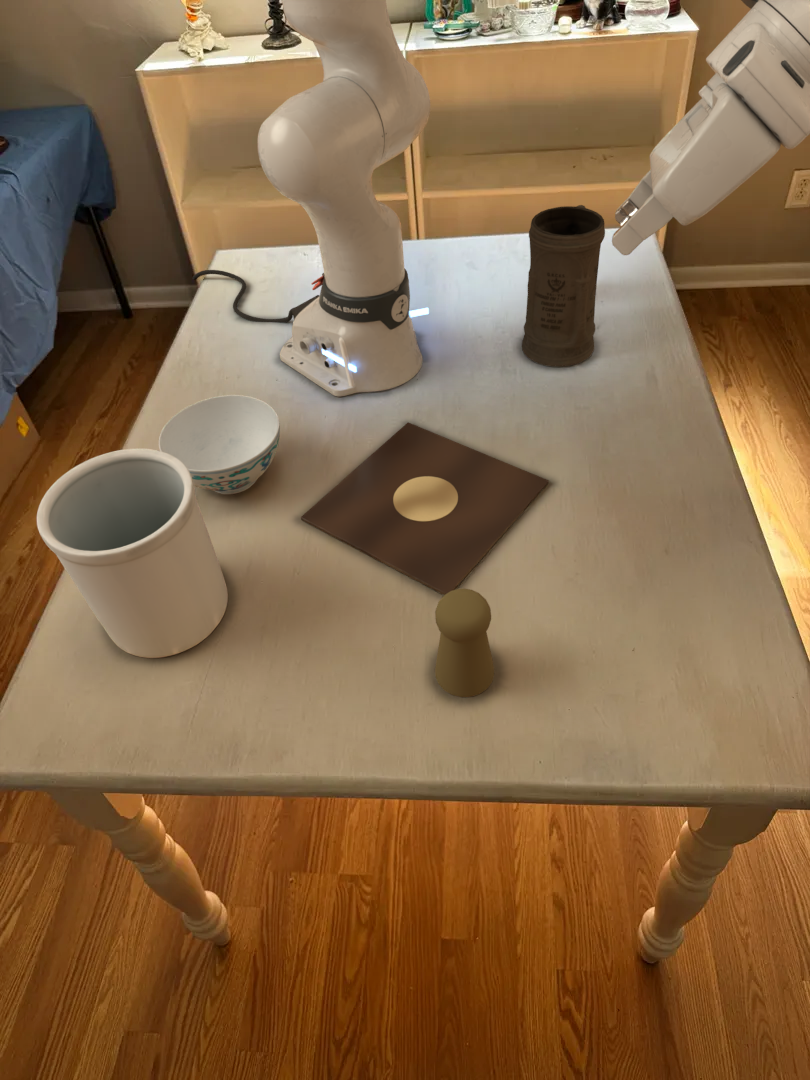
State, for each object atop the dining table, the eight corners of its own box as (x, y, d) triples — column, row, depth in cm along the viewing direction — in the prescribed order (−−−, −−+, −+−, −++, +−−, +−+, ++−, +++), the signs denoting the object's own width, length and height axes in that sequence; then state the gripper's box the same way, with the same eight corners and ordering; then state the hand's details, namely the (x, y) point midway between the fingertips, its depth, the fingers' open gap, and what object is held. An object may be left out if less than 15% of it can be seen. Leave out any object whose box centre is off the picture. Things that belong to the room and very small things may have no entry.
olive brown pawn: (453, 707, 77) (450, 640, 69) (424, 662, 81) (418, 594, 73) (506, 680, 78) (508, 612, 70) (474, 638, 82) (474, 569, 74)
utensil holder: (208, 672, 82) (157, 560, 69) (77, 657, 84) (6, 547, 71) (250, 566, 92) (213, 451, 79) (132, 556, 94) (78, 443, 81)
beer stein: (592, 372, 113) (609, 234, 99) (517, 368, 115) (524, 232, 101) (595, 322, 124) (611, 191, 110) (527, 319, 126) (534, 190, 112)
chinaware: (305, 445, 106) (295, 399, 101) (267, 523, 96) (254, 476, 91) (203, 436, 109) (188, 390, 104) (156, 510, 99) (137, 464, 94)
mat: (301, 520, 96) (300, 516, 96) (408, 424, 108) (407, 421, 107) (447, 597, 86) (447, 593, 86) (548, 483, 98) (549, 479, 97)
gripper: (723, 48, 64) (596, 185, 72) (753, 56, 48) (584, 233, 55) (774, 104, 65) (644, 234, 73) (820, 131, 49) (646, 295, 56)
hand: (618, 234), depth 64 cm, fingers open, 8 cm apart
